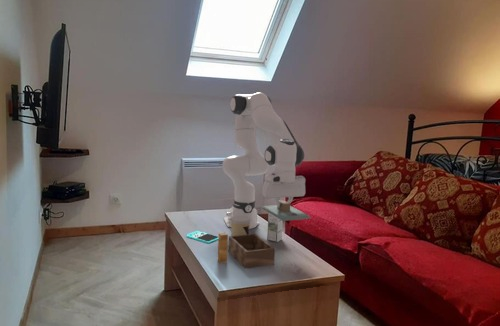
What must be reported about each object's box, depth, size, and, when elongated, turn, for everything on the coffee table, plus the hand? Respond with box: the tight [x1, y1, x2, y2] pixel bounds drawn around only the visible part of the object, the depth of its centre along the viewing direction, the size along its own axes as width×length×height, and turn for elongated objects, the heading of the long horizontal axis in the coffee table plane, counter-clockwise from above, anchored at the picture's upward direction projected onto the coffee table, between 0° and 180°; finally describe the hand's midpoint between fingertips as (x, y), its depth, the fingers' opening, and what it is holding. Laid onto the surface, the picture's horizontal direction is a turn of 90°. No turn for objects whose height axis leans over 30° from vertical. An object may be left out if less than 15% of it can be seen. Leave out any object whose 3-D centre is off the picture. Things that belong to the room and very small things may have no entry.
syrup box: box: [266, 212, 284, 243], centre depth 204 cm, size 6×6×14 cm
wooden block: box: [217, 232, 229, 264], centre depth 172 cm, size 3×3×13 cm
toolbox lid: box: [261, 199, 311, 222], centre depth 181 cm, size 20×13×5 cm, turn 24°
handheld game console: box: [186, 230, 219, 244], centre depth 204 cm, size 10×16×1 cm, turn 57°
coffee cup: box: [230, 216, 250, 236], centre depth 199 cm, size 9×9×12 cm
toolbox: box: [227, 233, 276, 269], centre depth 178 cm, size 20×13×8 cm, turn 24°
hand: (283, 206), depth 183 cm, fingers closed on toolbox lid, 3 cm apart
